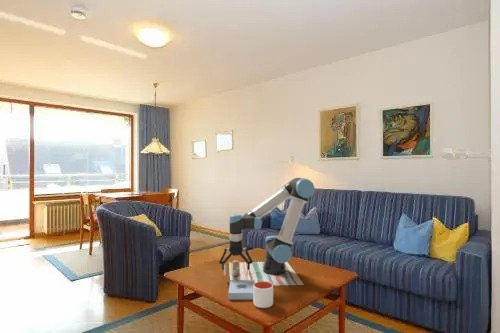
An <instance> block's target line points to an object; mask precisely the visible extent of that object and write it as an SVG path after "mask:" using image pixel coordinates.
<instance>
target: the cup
mask: <svg viewBox="0 0 500 333" xmlns="http://www.w3.org/2000/svg"><path fill="white" fill-rule="evenodd" d="M252 300H253V302H252V303H253V305H254V306H255V307H256V308H259V309H268V308H270V307H272V306H273V304H274V284H273V283H272V282H269V281H266V280H265V281H257V282H254V285H253V299H252Z"/></svg>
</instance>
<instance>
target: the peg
mask: <svg viewBox="0 0 500 333" xmlns="http://www.w3.org/2000/svg"><path fill="white" fill-rule="evenodd" d="M240 274H241V273H240V260H232V280H240Z"/></svg>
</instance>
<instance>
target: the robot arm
mask: <svg viewBox="0 0 500 333" xmlns="http://www.w3.org/2000/svg"><path fill="white" fill-rule="evenodd" d="M314 193H315V186H314V183H313V182H312V180H310V179H308V178H305V177H296V178H292V179H291V180H290V181H288V182H287V183H286V184H284V185H282V187H281V189H280V190H278V191H277V192H276V193H274V194H273V195H272V196H270V197H269V198H267V199H266V200H264V201H263V202H262V203H260V204H259V205H257V206H256V207H254V208H253V209H252V210H250V211H249V212H246V213H244V214H240V213H235V214H234V213H233V214H231V215H230V216H229V222H228V223H229V247H228V248H227V247H224V251H223V253H222V256H221V257H220V259H219V261H218V264H221V267H222V268H221V270H223V276H226V274H227V273H226V272H227V271H226V270H227V269H226V268H227V267H226V263H227V261H228V260H229V259H230V258H231V257H232V256H233V257H236V256H240V257H241V258H242V259H243V261H245V263H246V276H248V275H249V270H250V267H251V264H253V259H252V257H251V255H250V253H249V252H248V247H243V231H252V230H254V231H256V230H261V228H262V225H263V224H262V218H263V217H264V216H266V215H267V214H269V213H270V212H271V211H272V210H274V209H276V208H277V207H279V206H280V205H281V204H282V203H284V202H286V201H287V200H288V199H289V200H290V202H289V205H288V208H287V211H286V213H285V216H284V219H283V223H282V225H281V228H280V230H279V233H278V234H277V235H268V236H266V237H265V260H264V264H263V267H262V270H263V272H264V273H266V274H269V275H281V274H282V275H283V274H284V273H286V272H287V267H286V263H287V262H289V261H290V260H291V259H292V255H293V252H292V247H293V244H294V242H293V237H294V234H295V232H296V229H297V226H298V222H299V220H300V217H301V215H302V212H303V209H304V206H305V204H307V203H308V201H309V199H310V197H312V196H313V195H314ZM228 251H229V253H228ZM243 252H244V253H245V255H246V256H247V257H246V256H245V255H244V254H243ZM227 253H228V255H227V256H226V254H227ZM225 256H226V257H225ZM224 257H225V259H224Z"/></svg>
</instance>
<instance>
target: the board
mask: <svg viewBox="0 0 500 333" xmlns="http://www.w3.org/2000/svg"><path fill="white" fill-rule="evenodd" d="M254 283H255V279H239V280H233V279H232V280H229V288H228V295H227V296H228V298H227V299H228V300H230V301H231V300H236V301H237V300H238V301H239V300H241V301H245V300H246V301H248V300H253V285H254Z"/></svg>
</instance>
